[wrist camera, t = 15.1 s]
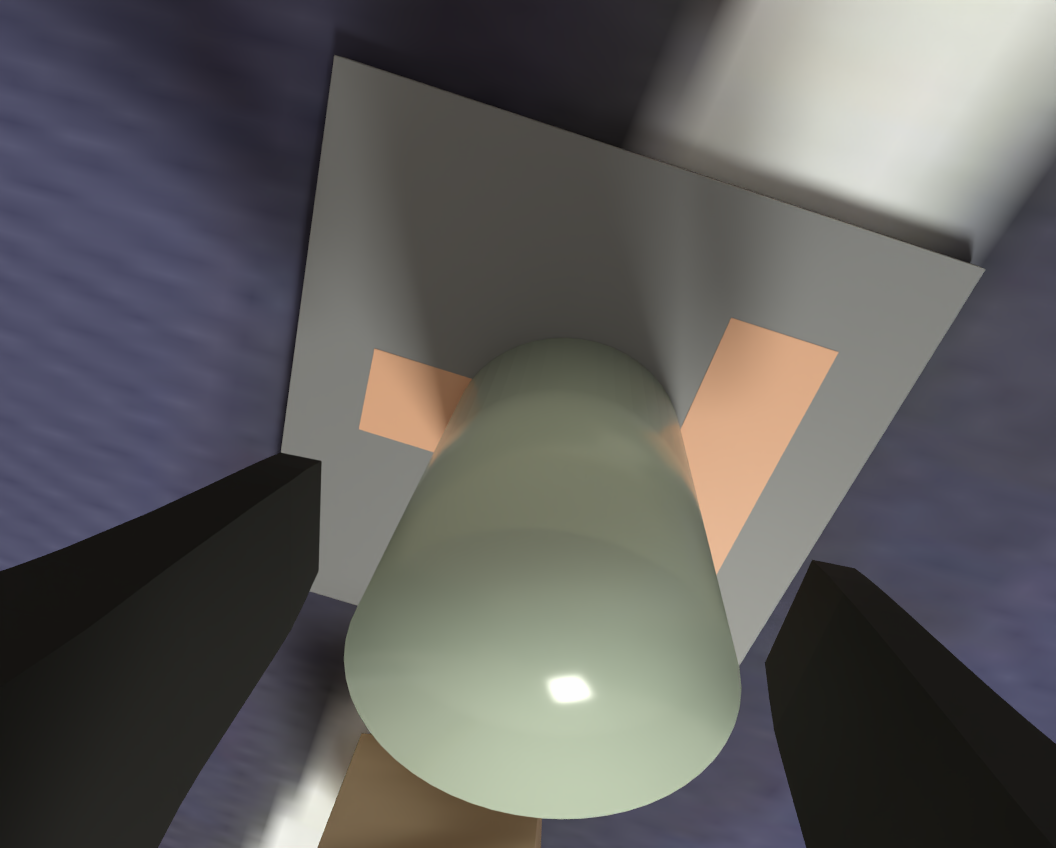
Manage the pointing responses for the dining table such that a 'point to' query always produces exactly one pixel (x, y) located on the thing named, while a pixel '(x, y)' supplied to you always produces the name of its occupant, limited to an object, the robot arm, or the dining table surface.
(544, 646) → the sage cylinder
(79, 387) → the dining table surface
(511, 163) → the letter tile
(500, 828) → the oak block
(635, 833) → the dining table surface
